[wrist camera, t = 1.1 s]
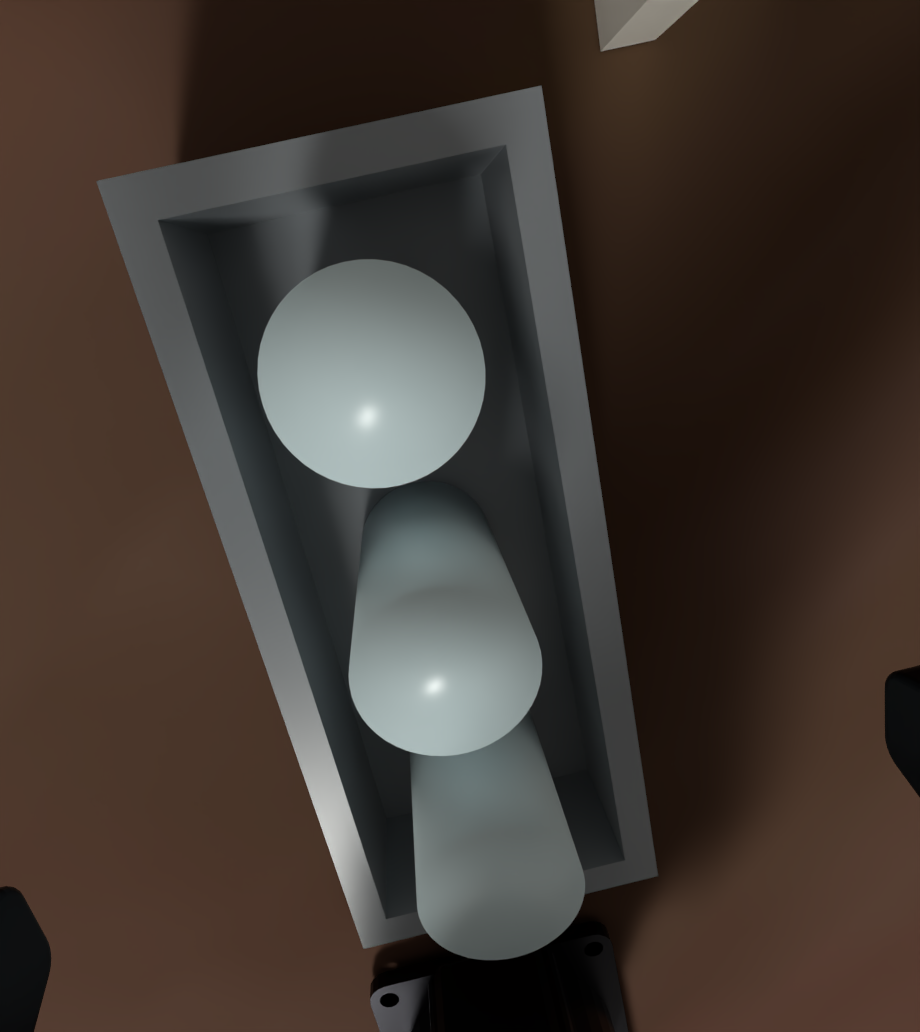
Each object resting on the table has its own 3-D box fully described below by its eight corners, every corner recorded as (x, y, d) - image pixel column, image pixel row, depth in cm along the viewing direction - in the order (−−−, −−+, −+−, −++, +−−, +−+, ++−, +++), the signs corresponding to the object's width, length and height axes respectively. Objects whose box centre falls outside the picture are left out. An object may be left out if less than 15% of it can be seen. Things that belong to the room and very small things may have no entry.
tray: (605, 762, 17) (708, 985, 12) (368, 819, 17) (359, 1073, 12) (500, 138, 13) (589, 24, 7) (173, 208, 12) (5, 149, 7)
